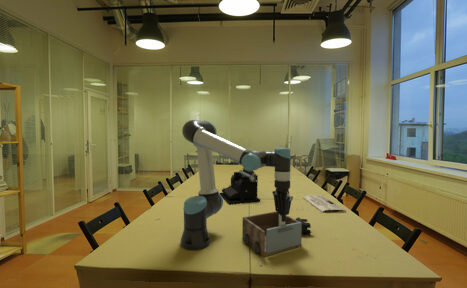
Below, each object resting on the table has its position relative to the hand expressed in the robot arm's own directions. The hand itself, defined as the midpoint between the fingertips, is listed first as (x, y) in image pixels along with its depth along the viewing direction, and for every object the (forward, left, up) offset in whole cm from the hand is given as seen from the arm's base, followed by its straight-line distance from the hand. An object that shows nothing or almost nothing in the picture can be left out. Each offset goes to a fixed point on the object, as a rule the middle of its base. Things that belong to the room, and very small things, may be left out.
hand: (281, 227), depth 112 cm
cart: (-9, 0, -12) cm, 14 cm away
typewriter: (-88, +22, -12) cm, 92 cm away
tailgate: (+1, 0, -10) cm, 10 cm away
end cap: (-12, +24, -12) cm, 29 cm away
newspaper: (-43, +73, -12) cm, 86 cm away
